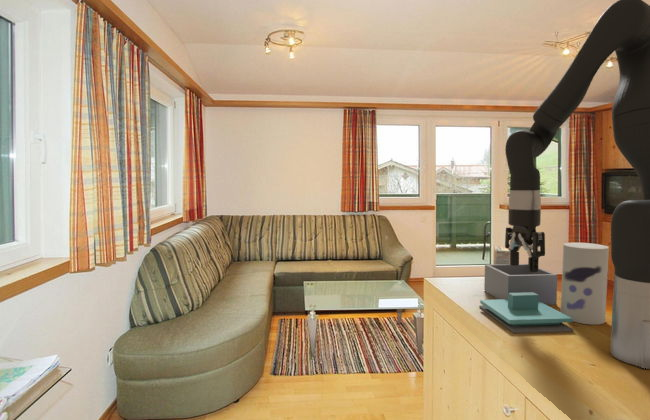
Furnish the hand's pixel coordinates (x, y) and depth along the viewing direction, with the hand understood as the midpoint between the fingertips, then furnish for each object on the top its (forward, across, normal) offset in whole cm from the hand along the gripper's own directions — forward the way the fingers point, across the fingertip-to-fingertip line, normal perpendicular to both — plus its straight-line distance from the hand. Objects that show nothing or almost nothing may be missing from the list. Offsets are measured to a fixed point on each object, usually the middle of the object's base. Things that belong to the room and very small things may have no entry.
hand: (523, 268), depth 103 cm
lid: (+13, +1, 0) cm, 13 cm away
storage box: (+13, +19, -10) cm, 25 cm away
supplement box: (+13, +34, -12) cm, 38 cm away
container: (+14, 0, -16) cm, 22 cm away
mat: (+14, +1, 0) cm, 14 cm away
